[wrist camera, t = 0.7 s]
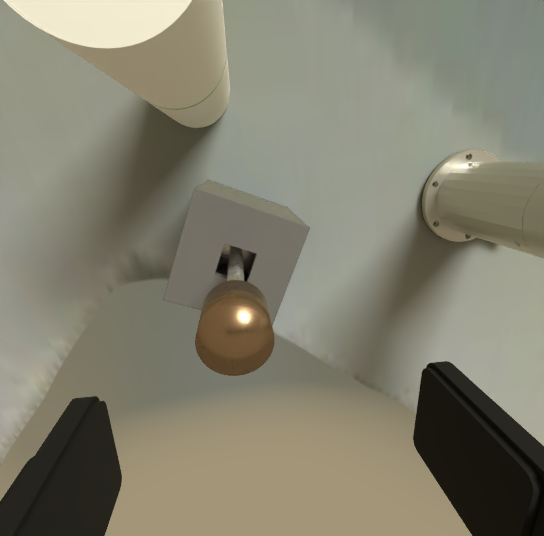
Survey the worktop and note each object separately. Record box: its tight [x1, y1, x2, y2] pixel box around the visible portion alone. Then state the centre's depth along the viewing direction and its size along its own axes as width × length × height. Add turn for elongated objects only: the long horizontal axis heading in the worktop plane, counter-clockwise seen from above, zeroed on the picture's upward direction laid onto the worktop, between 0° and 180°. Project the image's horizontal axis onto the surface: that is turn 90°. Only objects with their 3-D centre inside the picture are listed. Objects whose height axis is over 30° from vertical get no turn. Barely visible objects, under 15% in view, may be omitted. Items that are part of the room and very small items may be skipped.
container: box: [4, 0, 230, 128], centre depth 25 cm, size 9×9×30 cm
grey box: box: [163, 180, 310, 325], centre depth 38 cm, size 11×11×15 cm
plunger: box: [195, 243, 274, 376], centre depth 27 cm, size 8×8×20 cm
